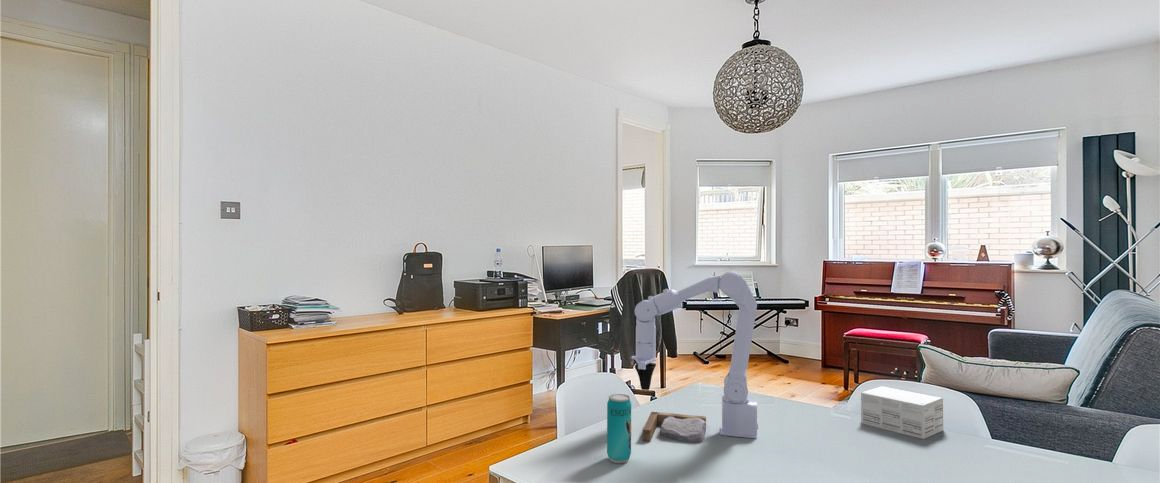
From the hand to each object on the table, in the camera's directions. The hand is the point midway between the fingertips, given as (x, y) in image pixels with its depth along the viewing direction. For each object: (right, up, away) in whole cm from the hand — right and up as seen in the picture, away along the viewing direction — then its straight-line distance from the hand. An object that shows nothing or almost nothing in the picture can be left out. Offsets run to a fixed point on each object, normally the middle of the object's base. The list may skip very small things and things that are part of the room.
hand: (645, 389), depth 156 cm
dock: (+7, -10, -8) cm, 15 cm away
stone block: (+9, -10, -9) cm, 17 cm away
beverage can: (-10, -10, -26) cm, 30 cm away
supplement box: (+73, -11, -1) cm, 74 cm away
